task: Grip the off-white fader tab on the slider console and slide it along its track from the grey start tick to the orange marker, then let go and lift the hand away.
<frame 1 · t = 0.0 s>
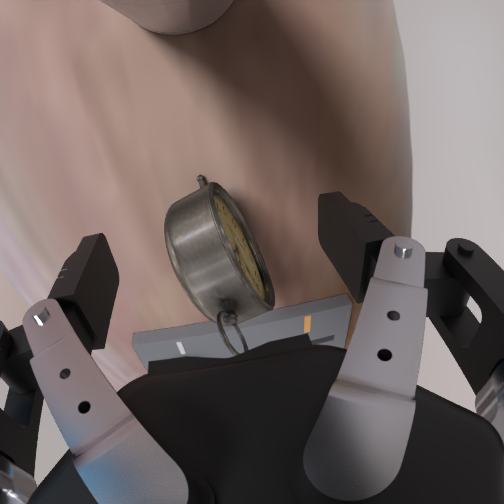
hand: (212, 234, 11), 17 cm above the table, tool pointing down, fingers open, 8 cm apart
alarm clock: (213, 216, 30), on the table
console: (245, 345, 42), on the table
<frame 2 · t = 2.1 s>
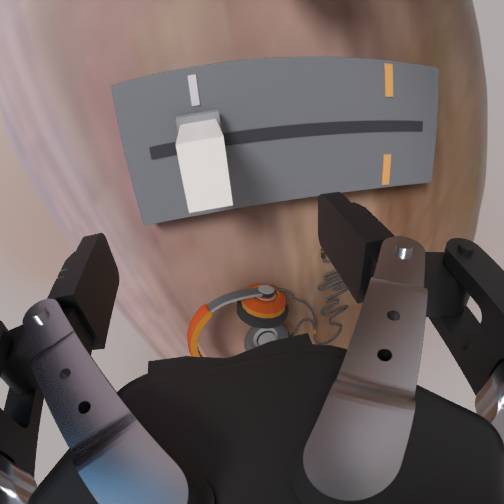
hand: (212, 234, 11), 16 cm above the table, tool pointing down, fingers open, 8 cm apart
headphones: (271, 306, 36), on the table
console: (296, 125, 25), on the table
fader: (203, 157, 19), point 6 cm above the table, slide at -8.0 cm
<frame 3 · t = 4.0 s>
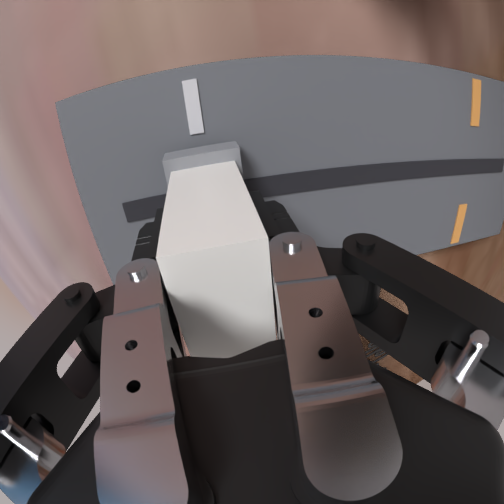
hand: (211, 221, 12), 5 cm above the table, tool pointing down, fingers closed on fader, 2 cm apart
console: (349, 161, 17), on the table
fader: (214, 241, 11), point 6 cm above the table, slide at -8.0 cm, touching gripper
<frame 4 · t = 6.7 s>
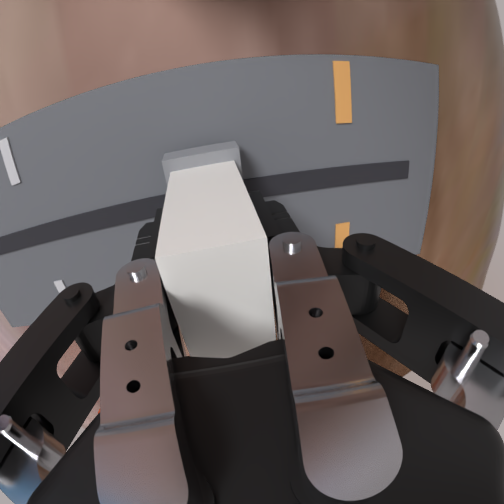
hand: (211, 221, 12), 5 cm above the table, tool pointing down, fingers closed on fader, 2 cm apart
console: (181, 186, 16), on the table
fader: (214, 241, 11), point 6 cm above the table, slide at 1.4 cm, touching gripper
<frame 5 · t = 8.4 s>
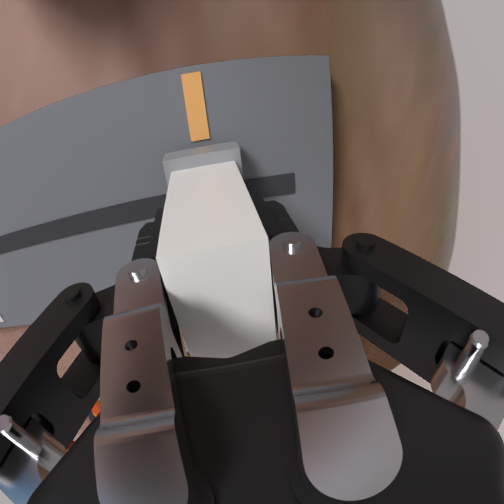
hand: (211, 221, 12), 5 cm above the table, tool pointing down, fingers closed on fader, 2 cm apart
console: (69, 211, 15), on the table
fader: (214, 241, 11), point 6 cm above the table, slide at 7.9 cm, touching gripper
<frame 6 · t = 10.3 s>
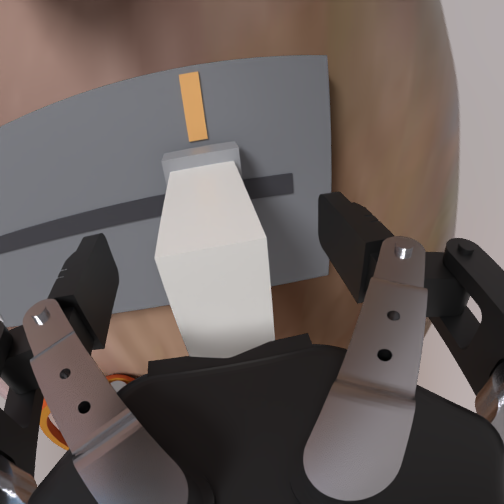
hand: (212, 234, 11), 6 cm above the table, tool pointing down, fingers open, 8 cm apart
headphones: (146, 394, 26), on the table
console: (68, 211, 15), on the table
fader: (213, 241, 11), point 6 cm above the table, slide at 8.0 cm
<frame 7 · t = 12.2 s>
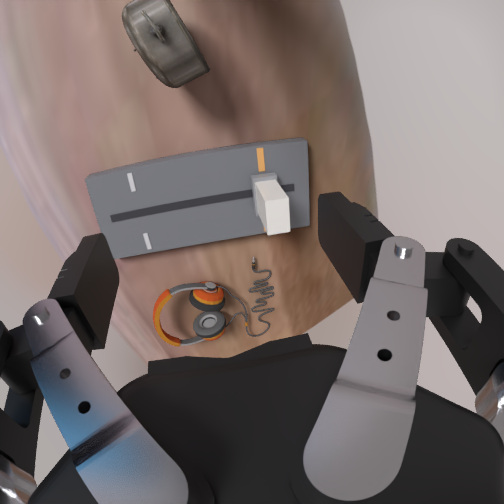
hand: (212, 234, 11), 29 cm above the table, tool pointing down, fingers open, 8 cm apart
alarm clock: (169, 45, 30), on the table
headphones: (215, 299, 50), on the table
console: (200, 195, 41), on the table
fader: (270, 203, 36), point 6 cm above the table, slide at 8.0 cm
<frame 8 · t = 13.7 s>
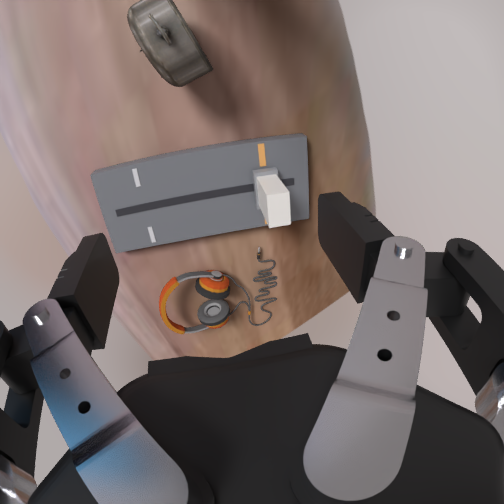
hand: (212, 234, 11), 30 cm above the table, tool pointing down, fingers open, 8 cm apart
alarm clock: (172, 44, 31), on the table
headphones: (220, 288, 52), on the table
console: (203, 189, 42), on the table
fader: (271, 197, 37), point 6 cm above the table, slide at 8.0 cm
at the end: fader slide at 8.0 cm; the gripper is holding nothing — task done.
